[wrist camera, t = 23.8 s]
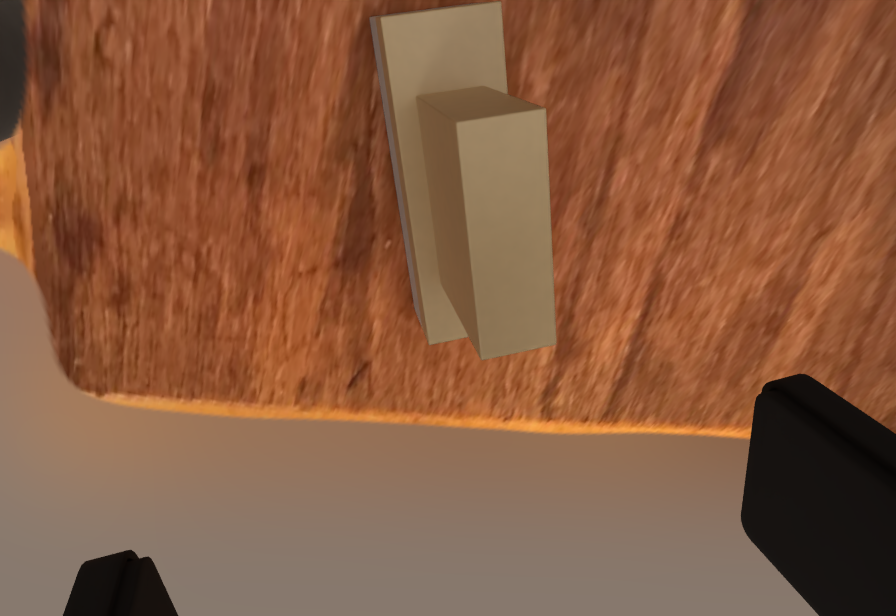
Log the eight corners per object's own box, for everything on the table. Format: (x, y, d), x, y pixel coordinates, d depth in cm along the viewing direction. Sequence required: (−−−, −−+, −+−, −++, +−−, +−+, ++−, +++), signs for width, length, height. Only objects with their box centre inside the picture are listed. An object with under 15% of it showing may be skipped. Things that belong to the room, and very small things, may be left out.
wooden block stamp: (414, 309, 28) (463, 434, 20) (369, 16, 23) (410, 16, 14) (499, 292, 29) (583, 406, 20) (474, 3, 23) (573, -6, 15)
